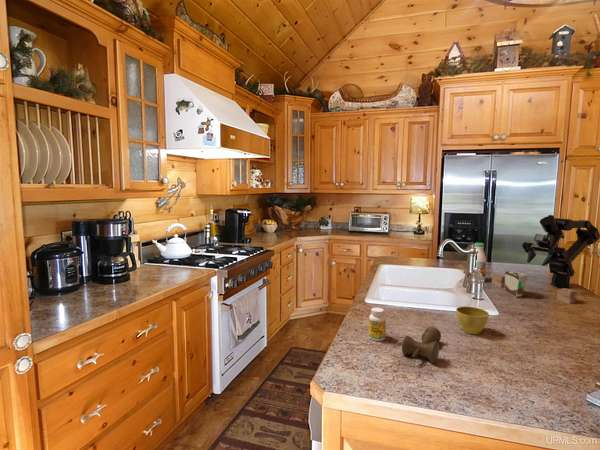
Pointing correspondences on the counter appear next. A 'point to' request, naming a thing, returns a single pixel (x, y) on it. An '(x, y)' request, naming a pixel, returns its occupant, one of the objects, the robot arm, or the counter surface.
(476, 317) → the olive yellow bowl
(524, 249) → the robot arm
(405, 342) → the kendama
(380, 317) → the supplement bottle
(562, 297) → the walnut cube seven
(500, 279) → the walnut cube one
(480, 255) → the milk bottle
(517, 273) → the food container
